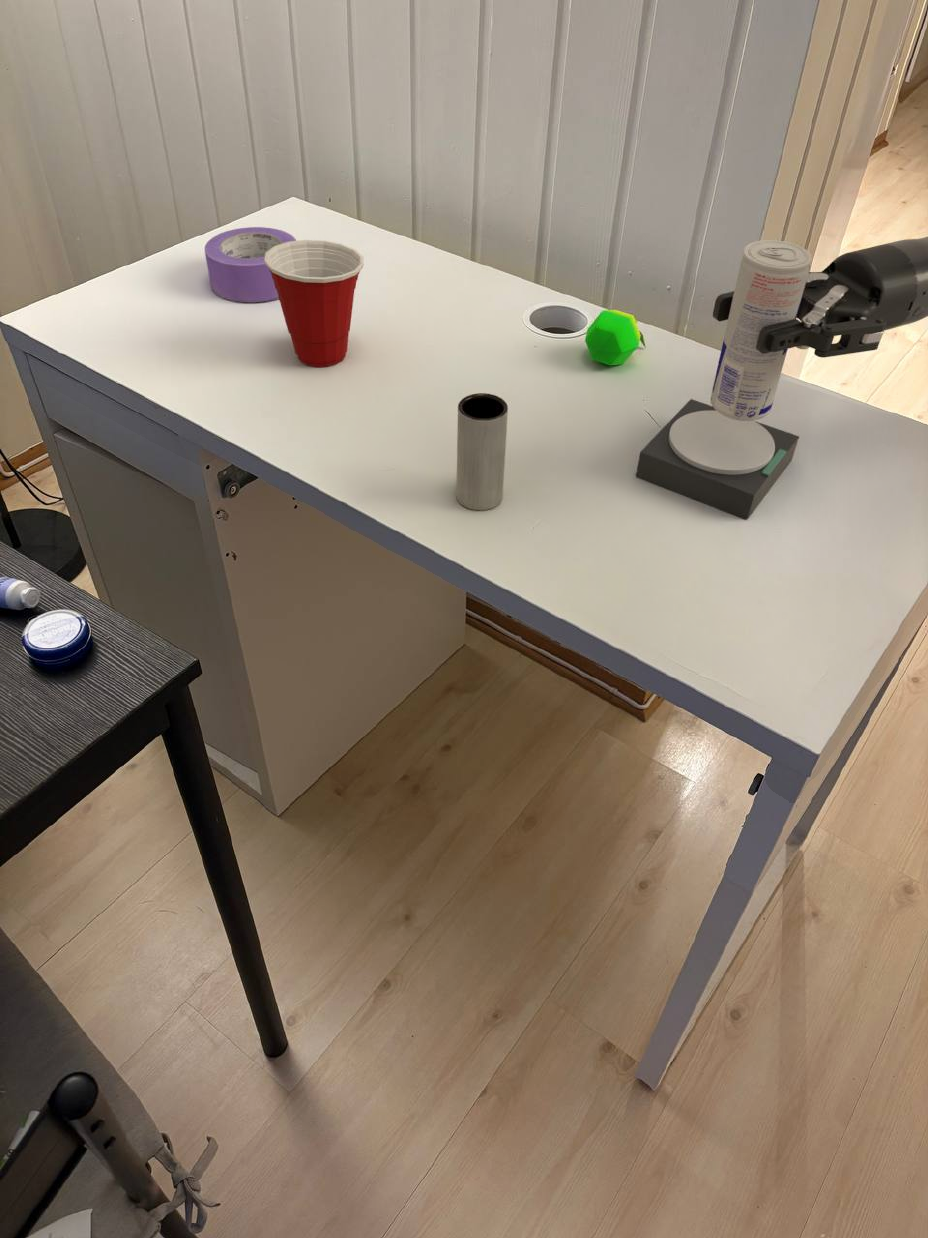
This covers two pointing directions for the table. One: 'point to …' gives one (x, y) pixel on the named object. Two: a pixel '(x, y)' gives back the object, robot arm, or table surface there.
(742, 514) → the scale
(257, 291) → the tape roll
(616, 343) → the apple
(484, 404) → the grey cylindrical tube
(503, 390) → the table surface
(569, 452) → the table surface
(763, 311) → the beverage can
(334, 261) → the plastic cup
